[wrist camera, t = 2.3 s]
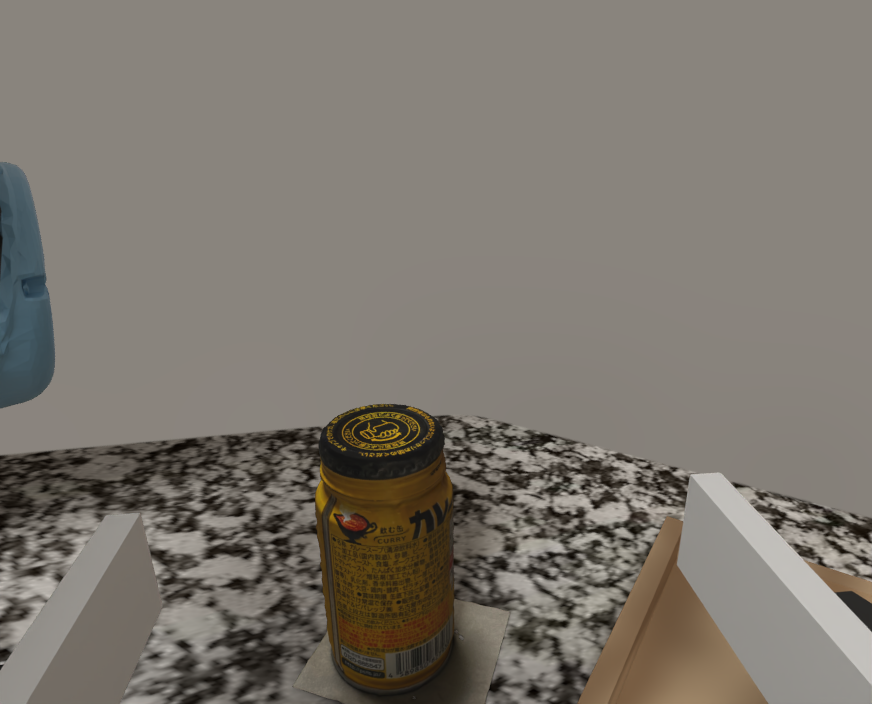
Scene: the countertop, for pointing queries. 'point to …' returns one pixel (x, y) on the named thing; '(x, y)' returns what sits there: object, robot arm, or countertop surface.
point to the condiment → (394, 569)
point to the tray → (678, 639)
